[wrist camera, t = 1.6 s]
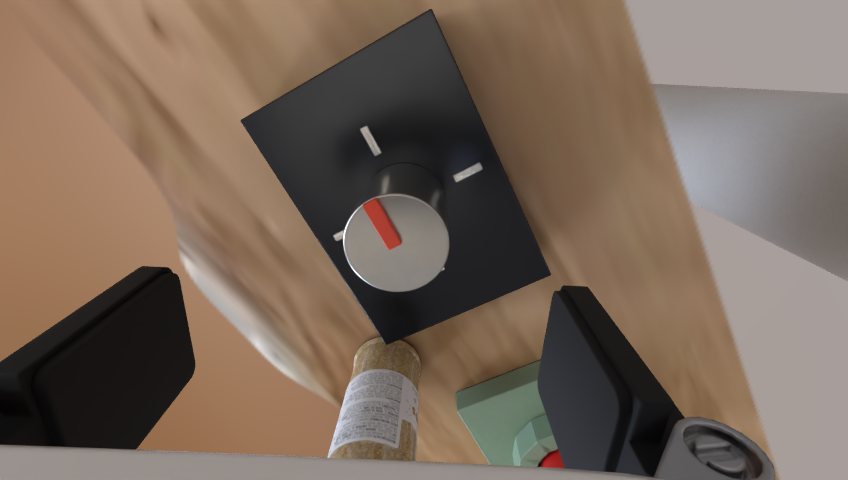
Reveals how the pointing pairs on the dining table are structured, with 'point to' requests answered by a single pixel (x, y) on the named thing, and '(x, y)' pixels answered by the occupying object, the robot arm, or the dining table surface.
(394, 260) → the dial
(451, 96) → the panel
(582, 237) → the dining table surface
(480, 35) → the dining table surface
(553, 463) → the button
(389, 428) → the sprinkles bottle
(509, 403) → the button box
